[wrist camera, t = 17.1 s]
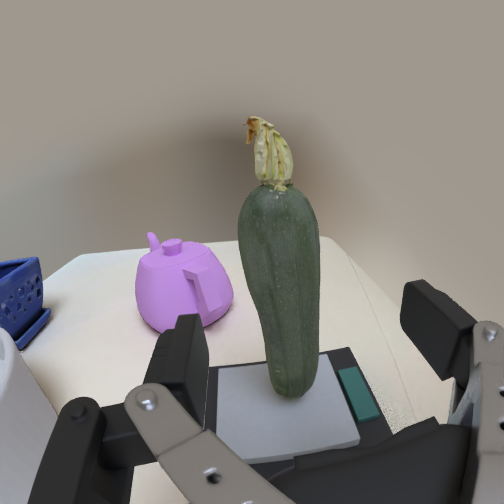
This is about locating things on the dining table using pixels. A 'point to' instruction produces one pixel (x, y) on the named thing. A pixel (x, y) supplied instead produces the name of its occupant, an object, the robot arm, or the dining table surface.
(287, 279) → the vegetable
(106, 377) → the dining table surface
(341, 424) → the scale
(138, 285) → the teapot
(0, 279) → the flower pot
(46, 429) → the container
